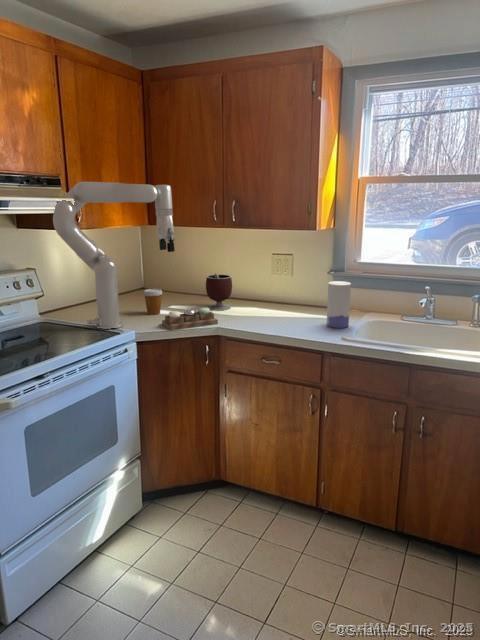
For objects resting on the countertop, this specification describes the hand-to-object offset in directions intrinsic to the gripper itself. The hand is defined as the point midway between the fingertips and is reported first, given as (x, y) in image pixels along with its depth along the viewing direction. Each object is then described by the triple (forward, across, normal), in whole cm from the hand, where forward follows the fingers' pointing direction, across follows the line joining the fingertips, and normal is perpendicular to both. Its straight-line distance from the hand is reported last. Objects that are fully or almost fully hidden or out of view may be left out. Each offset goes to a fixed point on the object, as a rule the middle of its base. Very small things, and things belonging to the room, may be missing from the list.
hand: (167, 250), depth 220 cm
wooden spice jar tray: (+34, +11, +4) cm, 36 cm away
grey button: (+30, +11, +5) cm, 32 cm away
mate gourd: (+35, -10, +31) cm, 48 cm away
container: (+36, +47, +63) cm, 86 cm away
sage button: (+30, +11, +12) cm, 34 cm away
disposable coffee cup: (+34, -17, -3) cm, 38 cm away
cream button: (+29, +11, -3) cm, 31 cm away
